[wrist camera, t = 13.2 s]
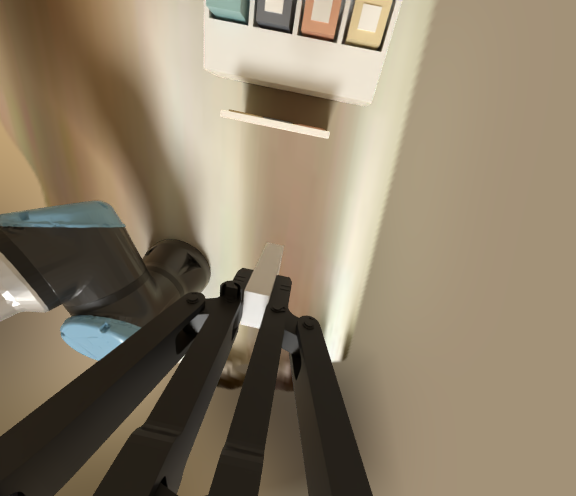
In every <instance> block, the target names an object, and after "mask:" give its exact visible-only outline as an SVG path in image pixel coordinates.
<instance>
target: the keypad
mask: <svg viewBox="0 0 576 496" xmlns="http://www.w3.org/2000/svg"><path fill="white" fill-rule="evenodd" d="M402 1H403V0H393V1H392V5H391V8H390V12H389V15H388V19H387V22H386V26H385V29H384V33H383V36H382V40H381V43H380V45H379V47H378V48H377V50H376V51H374V50H369V49H364V48H359V47H354V46H348V45H344V44H345V40H346V36H347V31H348V27H349V22H350V18H351V14H352V9H353V6H354V2H355V0H342V2H341V7H340V12H339V17H338V22H337V26H336V31H335V36H334V41H333V42H328V41H323V40H318V39H313V38H308V37H303V36H302V31H301V28H302V21H303V15H304V8H305V2H306V0H297V5H296V12H295V19H294V26H293V33H292V34H288V33H283V32H278V31H273V30H268V29H262V28H260V27H259V25H258V23H257V21H256V15H257V3H258V0H250V9H249V23H248V26H247V25H242V24H237V23H232V22H227V21H222V20H218V19H217V18H216V16H215V15H214V14H213V13H212V12H211V11H210V9H209V8H208V7H207V6H206V0H204V69H205V70H207V71H208V72H210V73H212V74H214V75H215V76H217V77H221V78H226V79H231V80H236V81H241V82H246V83H251V84H256V85H260V86H265V87H270V88H275V89H280V90H285V91H290V92H295V93H300V94H305V95H310V96H315V97H320V98H325V99H330V100H335V101H340V102H345V103H349V104H354V105H359V106H364V107H365V106H367V105H369V104H370V103H372V101H373V97H374V94H375V91H376V87H377V84H378V81H379V77H380V74H381V71H382V67H383V64H384V61H385V57H386V54H387V51H388V48H389V44H390V41H391V38H392V34H393V31H394V28H395V24H396V21H397V18H398V14H399V11H400V8H401V4H402Z"/></svg>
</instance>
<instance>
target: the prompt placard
mask: <svg viewBox="0 0 576 496" xmlns="http://www.w3.org/2000/svg"><path fill="white" fill-rule="evenodd" d="M221 117H224V118H229V119H234V120H239V121H244V122H249V123H254V124H258V125H263V126H268V127H273V128H278V129H283V130H288V131H293V132H297V133H302V134H307V135H312V136H317V137H322V138H327V139H328V138H329V134H330V132H328V131H324V130H325V129H322V128H317V127H312V126H307V125H302V124H297V125H294V124H293V123H291V122H288V121H283V120H278V119H273V118H268V117H263V118H262V117H261V116H258V115H253V114H249V113H244V112H239V111H234V110H229V111H226V110H221Z"/></svg>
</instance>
